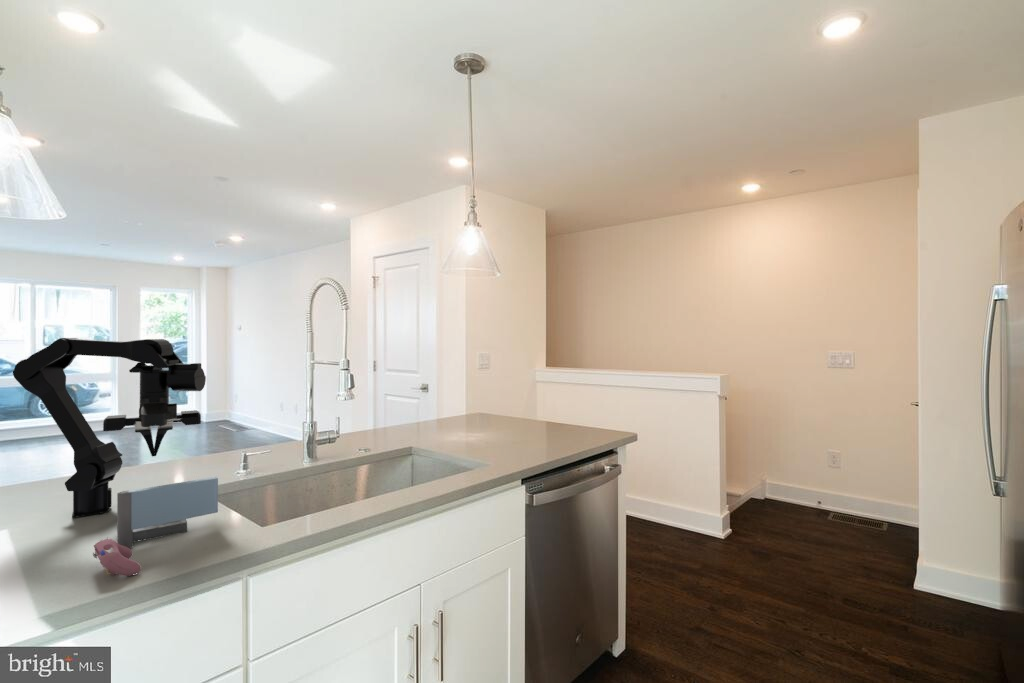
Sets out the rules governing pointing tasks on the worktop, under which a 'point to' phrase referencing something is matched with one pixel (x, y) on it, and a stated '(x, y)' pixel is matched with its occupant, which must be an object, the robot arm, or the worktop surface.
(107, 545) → the video game controller
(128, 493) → the light blue flat slab
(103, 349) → the robot arm
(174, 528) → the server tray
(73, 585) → the worktop surface
